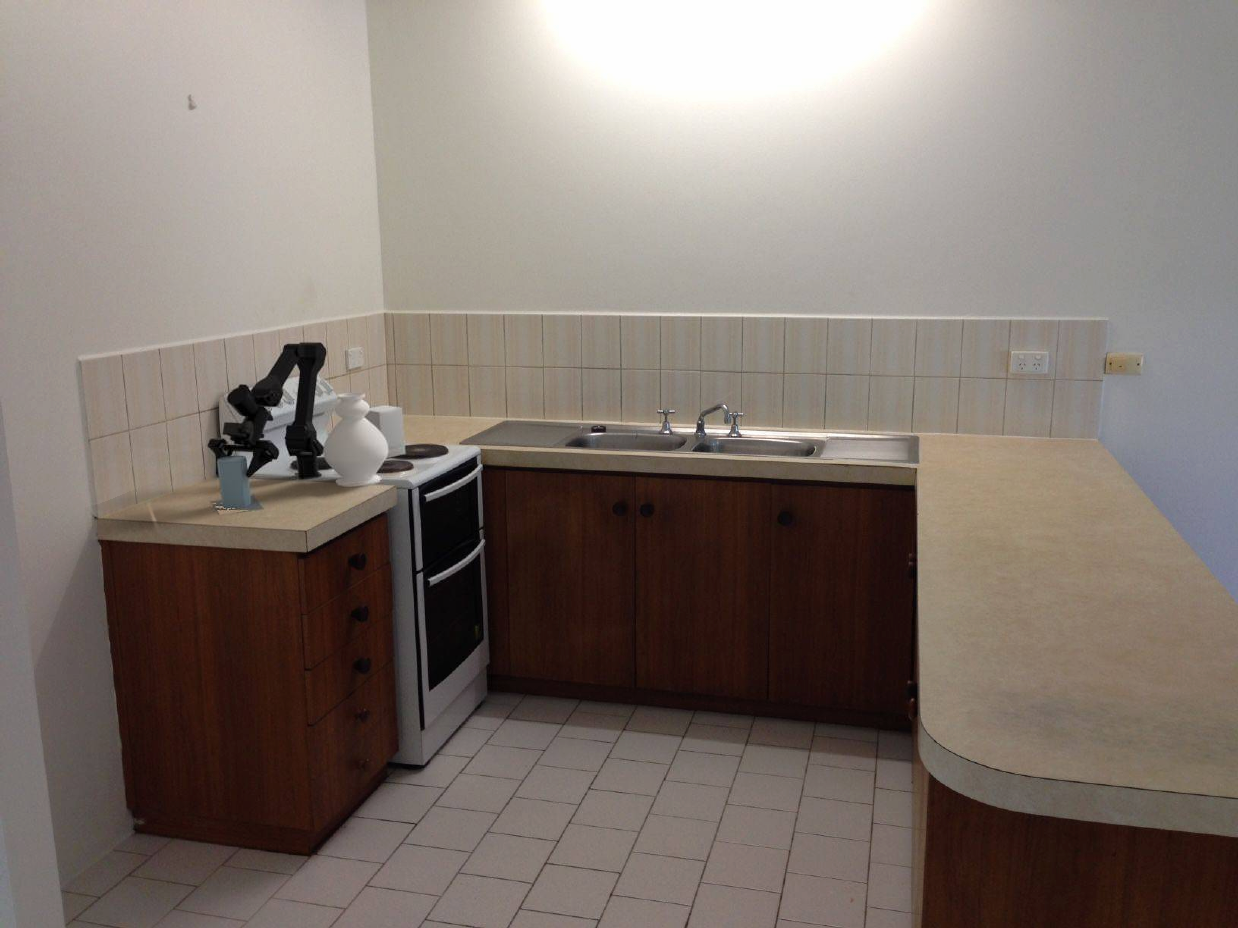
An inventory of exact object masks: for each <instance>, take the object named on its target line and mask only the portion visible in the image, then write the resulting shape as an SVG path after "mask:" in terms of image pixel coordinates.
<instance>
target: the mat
mask: <svg viewBox="0 0 1238 928" xmlns="http://www.w3.org/2000/svg"><path fill="white" fill-rule="evenodd" d="M210 502H211V504H212V503H216V504H212V507H214V506H222V504H221V503H222V499H219V500H218V499H217V500H211V501H210ZM216 510H227V508H226V509H223V508H221V509H220V508H216V509H215V511H216ZM229 510H249V511H248V512H252V510H254V511H260V510H264V507H263V505H261V503H260V502H259V500H258V499H257V498H256V497H255V495H251V504H250V505H249V506H246V507H242V508H235V509H229ZM245 512H246V511H243V512H242V513H245ZM238 513H239V512H237V513H236V514H238Z"/></svg>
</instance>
